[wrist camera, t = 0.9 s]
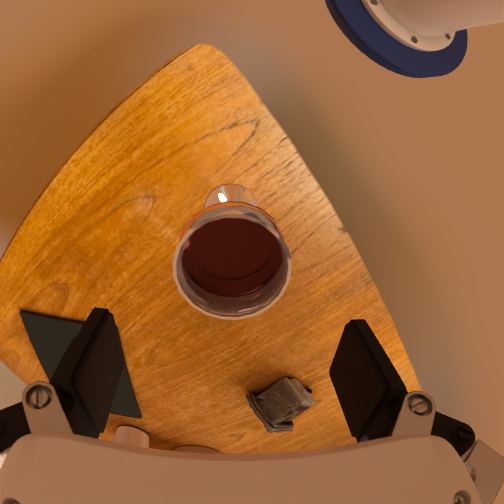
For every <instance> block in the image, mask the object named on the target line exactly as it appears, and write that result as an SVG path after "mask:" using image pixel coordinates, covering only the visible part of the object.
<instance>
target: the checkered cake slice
mask: <svg viewBox="0 0 504 504" xmlns="http://www.w3.org/2000/svg"><path fill="white" fill-rule="evenodd" d="M311 393H312V390H311V389H306V390H305V389H304V387H303V386H302V384H301V383H300V382H299V381H297V379H296V378H292V379H290V380H289V379H288V378H287V377H283V378H281V379H280V380H279V381H278V382H277V383H275V384H273V385H272V386H271V387H269V388H268V389H267V390H266V391H264V392H263V393H261V394H260V395H259V396H256V395H255V394H246V399H247V400H248V402H249V404H250V405H249V406H250V407H251V408H252V409H253V411H254V413H255V414H256V415H257V417H258V418H259V419H260V420H261V421H262V423H263V424H264V427H265V428H266V430H267V431H268V432H271V433H274V432H277V433H278V432H284V431H293V430H292V428H293V426H294V424H293V422H292V420H293V419H294V418H295V417H296V416H298V415H299V414H300V413H302V412H303V411H305V410H307V409H308V408H309V407H310V406H311V405H312V402H314V399H312V398H311Z"/></svg>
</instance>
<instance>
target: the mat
mask: <svg viewBox="0 0 504 504" xmlns="http://www.w3.org/2000/svg"><path fill="white" fill-rule="evenodd" d="M20 315H21V317H22V320H23V323H24V325H25V328H26V331H27V333H28V336H29V338H30V340H31V343H32V345H33V347H34V350H35V352H36V354H37V356H38V359H39V361H40V363H41V365H42V367H43V369H44V371H45V373H46V375H47V377H48V379H49V381H50V380H51V378H52V376H53V374H54V372H55V370H56V368H57V366H58V364H59V363H60V361H61V359H62V357H63V355H64V353H65V352H66V350H67V348H68V346H69V345H70V343H71V341H72V340H73V338H74V337H77V335H78V333H79V331H80V330H81V328H82V326H83V325H84V323H85V322H83V321H77V320H71V319H65V318H60V317H54V316H49V315H44V314H39V313H34V312H30V311H25V310H21V311H20ZM116 331H117V335H118V340H119V344H120V348H121V353H122V357H123V361H124V368H123V372H122V375H121V378H120V381H119V384H118V387H117V390H116V393H115V396H114V399H113V403H112V406H111V409H110V413H112V414H117V415H122V416H128V417H133V418H140V419H141V417H142V416H141V413H140V410H139V407H138V404H137V401H136V397H135V394H134V391H133V388H132V384H131V381H130V377H129V374H128V370H127V366H126V362H125V358H124V354H123V350H122V346H121V342H120V338H119V333H118V329H117V326H116Z"/></svg>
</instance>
